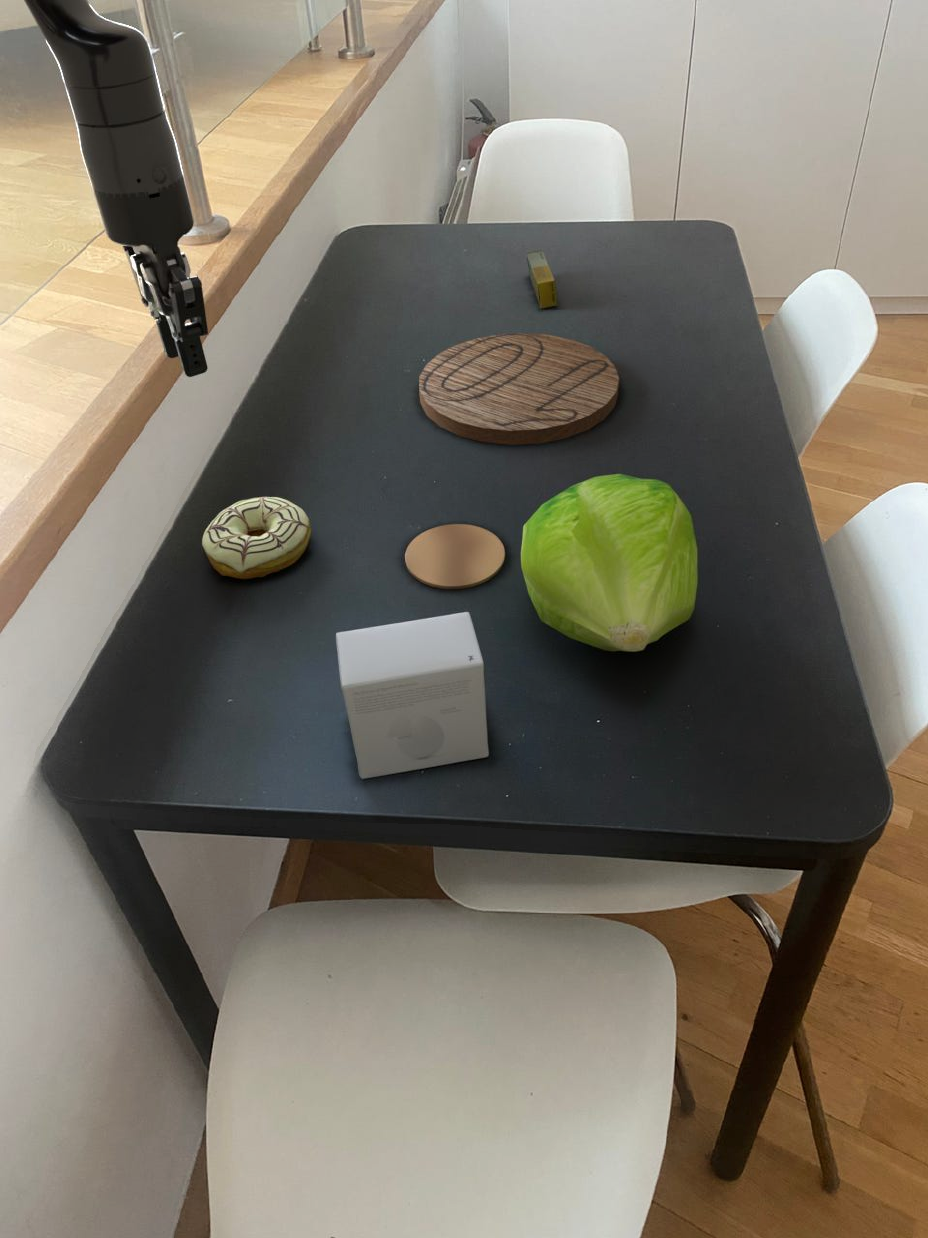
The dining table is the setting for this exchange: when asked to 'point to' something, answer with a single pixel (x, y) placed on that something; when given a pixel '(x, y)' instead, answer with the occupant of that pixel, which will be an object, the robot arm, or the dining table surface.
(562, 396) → the trivet
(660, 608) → the lettuce
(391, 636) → the cosmetics box
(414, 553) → the cork coaster
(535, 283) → the medication box
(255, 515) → the decorated donut
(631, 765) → the dining table surface
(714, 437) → the dining table surface
